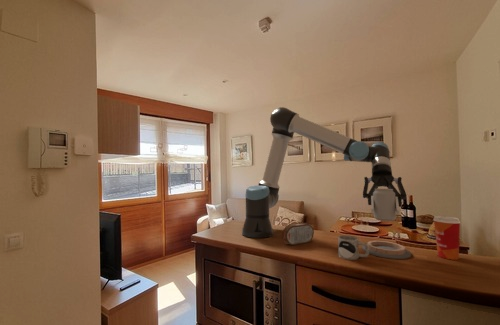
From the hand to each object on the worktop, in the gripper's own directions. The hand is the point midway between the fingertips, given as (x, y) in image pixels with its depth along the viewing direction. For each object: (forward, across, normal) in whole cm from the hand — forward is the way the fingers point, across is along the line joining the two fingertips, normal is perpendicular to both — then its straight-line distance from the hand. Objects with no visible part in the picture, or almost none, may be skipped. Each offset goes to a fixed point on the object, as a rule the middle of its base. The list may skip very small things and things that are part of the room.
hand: (385, 211), depth 87 cm
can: (0, 0, -5) cm, 5 cm away
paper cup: (+7, -20, -16) cm, 26 cm away
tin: (+12, +32, -10) cm, 36 cm away
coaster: (+9, 0, -13) cm, 16 cm away
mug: (+18, +11, -5) cm, 21 cm away
